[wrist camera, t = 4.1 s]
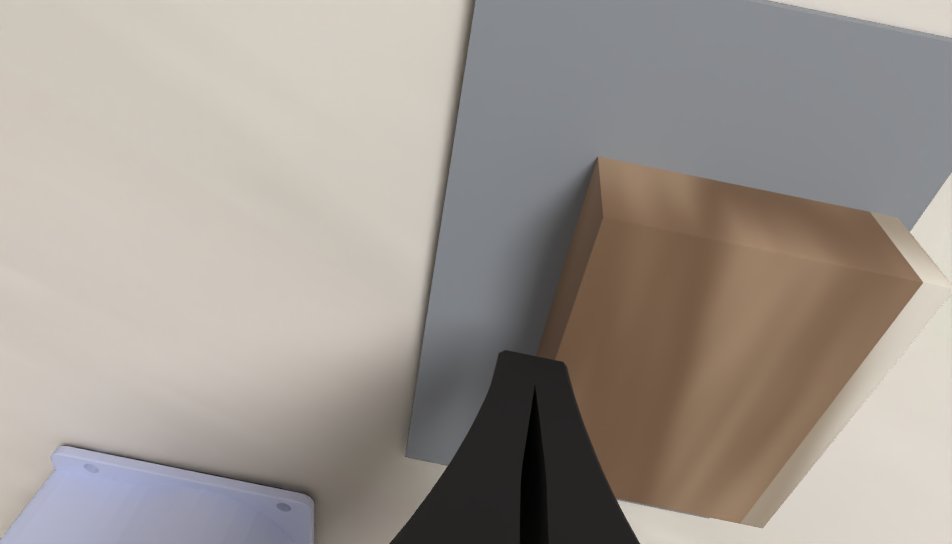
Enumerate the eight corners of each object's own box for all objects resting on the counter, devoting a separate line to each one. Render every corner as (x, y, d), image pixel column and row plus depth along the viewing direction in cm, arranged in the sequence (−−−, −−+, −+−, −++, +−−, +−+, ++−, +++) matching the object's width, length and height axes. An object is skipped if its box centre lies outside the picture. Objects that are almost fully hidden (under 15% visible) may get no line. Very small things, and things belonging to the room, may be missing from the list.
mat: (407, 446, 20) (404, 456, 20) (485, -57, 12) (483, -54, 11) (706, 507, 21) (709, 518, 20) (1018, 51, 12) (1031, 58, 11)
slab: (515, 478, 16) (762, 528, 16) (603, 217, 11) (955, 289, 11) (521, 404, 18) (741, 448, 18) (597, 156, 13) (897, 217, 13)
